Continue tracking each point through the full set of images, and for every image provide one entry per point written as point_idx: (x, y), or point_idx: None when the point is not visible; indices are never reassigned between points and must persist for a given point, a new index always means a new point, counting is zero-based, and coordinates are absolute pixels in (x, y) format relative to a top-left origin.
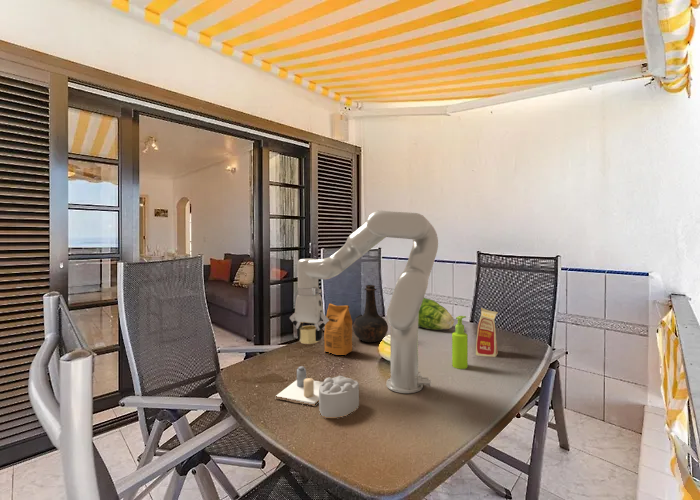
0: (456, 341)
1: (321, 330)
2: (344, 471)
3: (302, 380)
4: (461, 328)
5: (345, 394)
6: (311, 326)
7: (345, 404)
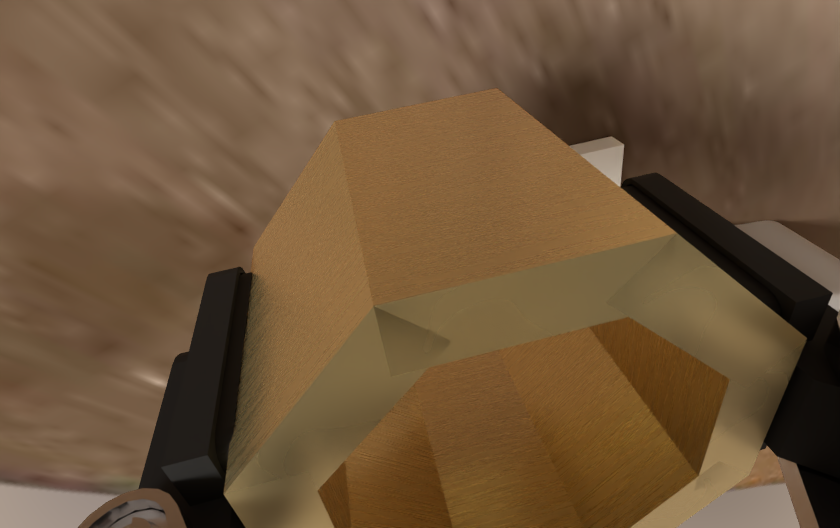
0: None
1: (830, 319)
2: (769, 471)
3: None
4: None
5: None
6: (491, 342)
7: None
